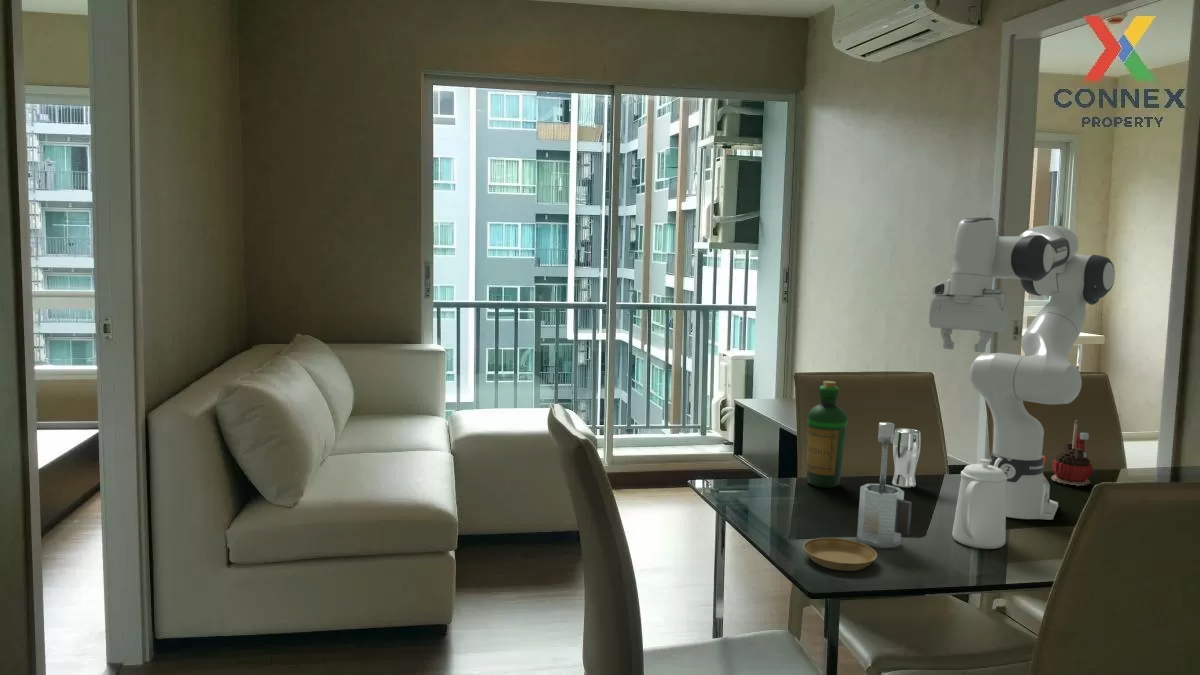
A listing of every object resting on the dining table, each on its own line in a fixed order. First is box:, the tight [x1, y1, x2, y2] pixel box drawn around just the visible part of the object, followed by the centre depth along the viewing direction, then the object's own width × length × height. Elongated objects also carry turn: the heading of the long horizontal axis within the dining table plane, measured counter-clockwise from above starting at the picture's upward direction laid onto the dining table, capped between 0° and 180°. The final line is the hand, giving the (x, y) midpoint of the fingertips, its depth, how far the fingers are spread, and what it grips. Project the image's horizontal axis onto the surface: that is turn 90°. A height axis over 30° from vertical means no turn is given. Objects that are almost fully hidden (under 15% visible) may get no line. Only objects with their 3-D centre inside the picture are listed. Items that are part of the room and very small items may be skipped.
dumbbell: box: [877, 421, 895, 493], centre depth 194 cm, size 5×5×17 cm
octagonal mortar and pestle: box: [856, 483, 913, 551], centre depth 194 cm, size 9×11×12 cm
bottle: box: [806, 380, 849, 489], centre depth 240 cm, size 11×11×28 cm
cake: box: [1050, 419, 1094, 487], centre depth 250 cm, size 11×9×18 cm
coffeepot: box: [951, 458, 1007, 550], centre depth 197 cm, size 11×25×19 cm, turn 141°
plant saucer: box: [802, 537, 878, 572], centre depth 184 cm, size 15×15×3 cm
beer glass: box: [891, 427, 921, 489], centre depth 243 cm, size 7×7×15 cm
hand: (963, 350), depth 200 cm, fingers open, 8 cm apart
